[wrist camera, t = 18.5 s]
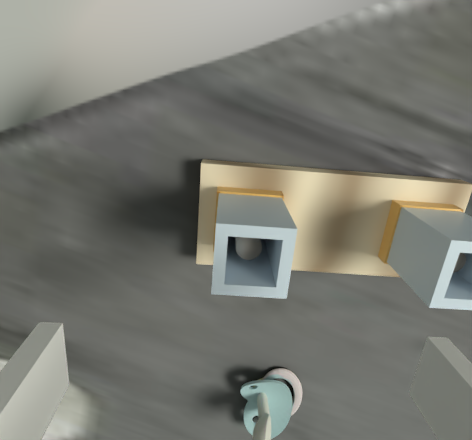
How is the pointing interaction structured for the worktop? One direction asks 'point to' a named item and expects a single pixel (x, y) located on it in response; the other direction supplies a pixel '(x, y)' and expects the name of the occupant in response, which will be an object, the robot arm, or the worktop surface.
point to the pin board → (324, 211)
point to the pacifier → (270, 403)
